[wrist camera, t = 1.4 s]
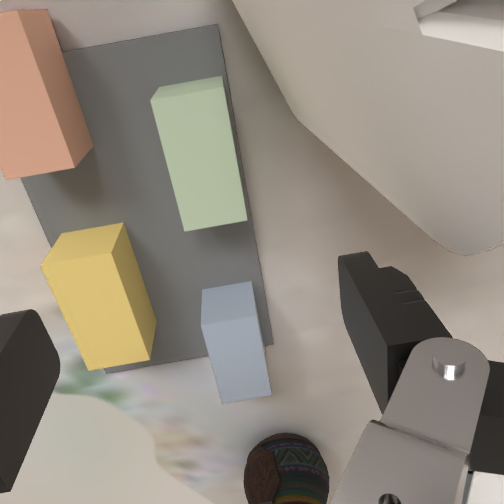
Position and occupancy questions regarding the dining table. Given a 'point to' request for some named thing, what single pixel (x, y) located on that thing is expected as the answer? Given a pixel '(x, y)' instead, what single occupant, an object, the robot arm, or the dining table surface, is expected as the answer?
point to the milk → (401, 100)
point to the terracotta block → (37, 99)
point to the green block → (200, 152)
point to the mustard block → (102, 295)
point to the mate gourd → (286, 472)
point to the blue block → (235, 342)
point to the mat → (149, 185)
